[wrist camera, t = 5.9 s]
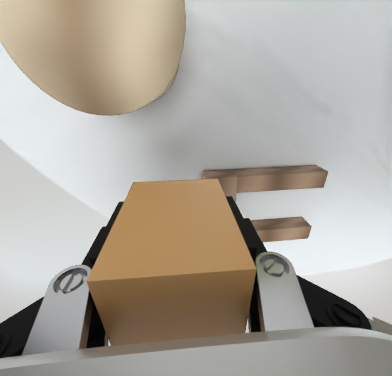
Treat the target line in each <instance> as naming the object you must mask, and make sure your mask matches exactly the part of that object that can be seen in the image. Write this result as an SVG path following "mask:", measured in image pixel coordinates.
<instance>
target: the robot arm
mask: <svg viewBox="0 0 392 376" xmlns="http://www.w3.org/2000/svg"><path fill="white" fill-rule="evenodd" d="M225 197H226V199H227V201H228V204H229V206H230V208H231V211H232V213H233V215H234V218H235V220H236V222H237V225H238V227H239V229H240V232H241V234H242V236H243V238H244V241H245V243H246V245H247V248H248V250H249V252H250V255H251V257H252V259H253V262H254V264H255V266H256V275H255V280H254V286H253V291H252V297H251V303H250V308H249V314H248V325H249V333H242V334H231V335H219V336H209V337H198V338H188V339H177V340H167V341H156V342H146V343H136V344H125V345H116V346H108V336H107V334H106V331H105V328H104V326H103V323H102V321H101V318H100V316H99V313H98V310H97V308H96V305H95V303H94V300H93V298H92V295H91V292H90V290H89V287H88V285H87V282H86V281H87V279H88V277H89V275H90V272H91V270H92V268H93V266H94V264H95V262H96V260H97V258H98V256H99V254H100V251H101V249H102V247H103V245H104V243H105V241H106V239H107V237H108V235H109V233H110V230H111V228H112V226H113V224H114V222H115V220H116V218H117V216H118V214H119V212H120V209H121V207H122V205H123V203H124V202H119V203H118V205H117V207H116V209H115V211H114V212H113V214H112V216H111V218H110V220H109V222H108V224H107V226H106V227H102V229H101V230H100V232H99V234H98V235H97V237H96V239H95V241H94V243H93V244H92V246H91V248H90V250H89V252H88V253H87V256H86V257H85V259H84V261H83V263H82V264H81V265H75V266H71V267H69V268H67V269H65V270H63V271H61V272H60V273H58V274H57V275H56V276H55V277H54V278H53V279H52V281H51V282H50V284H49V286H48V288H47V291H46V294H45V296H44V297H42V298H41V299H39V300H37V301H36V302H34V303H33V304H31V305H29V306H28V307H26V308H25V309H23V310H21V311H20V312H18V313H17V314H15V315H13V316H12V317H10V318H8V319H7V320H5V321H3V322H2V323H0V376H392V325H391V324H388V323H386V322H384V321H382V320H379V319H377V318H374V317H372V318H371V319H368V318H367V317H366V316H365V315H364V314H363V312H362V311H361V310H359V309H358V308H357V307H356V306H355V305H353V304H351V303H350V302H348V301H346V300H344V299H342V298H340V297H338V296H336V295H335V294H333V293H331V292H328V291H327V290H325V289H323V288H321V287H319V286H317V285H315V284H313V283H311V282H309V281H307V280H305V279H303V278H301V277H300V276H298V275H296V273H295V270H294V268H293V265H292V264H291V262H290V261H289V260H288V259H287V258H286V257H284V256H283V255H281V254H278V253H275V252H267V250H266V248H265V247H264V245H263V243H262V241H261V239H260V237H259V235H258V234H257V232H256V230H255V228H254V226H253V224H252V222H251V221H250V219H249V218H243V217H242V215H241V213H240V211H239V209H238V207H237V205H236V203H235V201H234V199H233V197H232V196H225Z"/></svg>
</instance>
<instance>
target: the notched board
mask: <svg viewBox="0 0 392 376" xmlns="http://www.w3.org/2000/svg"><path fill="white" fill-rule="evenodd" d="M327 174H328V171H326V170H324V169H322V168H320V167H318V166H316V165H310V166H291V167H271V168H252V169H233V170H213V171H203V179H218V180H219V183H220V185H221V187H222V190H223V192H224V194H225V196H232V197H233V199H234V201H235V200H236V193H241V192H257V191H273V190H289V189H306V188H322V187H324V184H325V181H326V177H327ZM251 222H252V224H253V226H254V228H255V230H256V232H257V234H258V235H259V237H260V239H261V241H262V242H270V241H282V240H294V239H305V238H308V236H309V233H310V230H311V227H312V226H311V225H309V224H308V223H307V222H306V221H305V220H304V219H303V218H302V217H294V218H280V219H267V220H254V221H251Z"/></svg>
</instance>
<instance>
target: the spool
mask: <svg viewBox="0 0 392 376" xmlns="http://www.w3.org/2000/svg"><path fill="white" fill-rule="evenodd" d="M185 19H186V15H185V3H184V0H0V42H1V44H2V45H3V47H4V48H5V50H6V51H7V53H8V54H9V56H10V57H11V59H12V60H13V61H14V62H15V64H16V65H17V66H18V67H19V68H20V70H21V71H22V72H23V73H24V74H25V75H26V76H27V77H28V78H29V79H30V80H31V81H32V82H33V83H34V84H35V85H37V86H38V87H39V88H40V89H41V90H42V91H44V92H45V93H47V94H48V95H50V96H51V97H52V98H54V99H56V100H57V101H59V102H61V103H63V104H65V105H67V106H69V107H71V108H74V109H76V110H79V111H82V112H86V113H90V114H96V115H121V114H125V113H129V112H132V111H134V110H137V109H139V108H141V107H143V106H145V105H147V104H148V103H150V102H151V101H153V100H156V99H157V98H159V97H161V96H162V95H163V94H164V93H165V92H166V91H167V90H168V89H169V88H170V87H171V85H172V83H173V81H174V80H175V77H176V74H177V70H178V66H179V61H180V57H181V53H182V49H183V44H184V37H185Z"/></svg>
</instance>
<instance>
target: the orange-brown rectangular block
mask: <svg viewBox="0 0 392 376" xmlns="http://www.w3.org/2000/svg"><path fill="white" fill-rule="evenodd" d="M255 275H256V266H255V264H254V262H253V259H252V257H251V255H250V252H249V250H248V248H247V245H246V243H245V241H244V238H243V236H242V234H241V232H240V229H239V227H238V225H237V222H236V220H235V218H234V215H233V213H232V211H231V208H230V206H229V204H228V201H227V199H226V197H225V194H224V192H223V190H222V187H221V185H220V183H219V180H218V179H200V180H177V181H155V182H133V184H132V186H131V189H130V191H129V193H128V195H127V197H126V199H125V201H124V203H123V205H122V207H121V209H120V212H119V214H118V216H117V218H116V220H115V222H114V224H113V226H112V228H111V230H110V233H109V235H108V237H107V239H106V241H105V243H104V245H103V247H102V249H101V251H100V254H99V256H98V258H97V260H96V262H95V264H94V266H93V268H92V270H91V272H90V275H89V277H88V279H87V281H86V282H87V285H88V287H89V290H90V292H91V295H92V298H93V300H94V303H95V305H96V308H97V310H98V313H99V316H100V318H101V321H102V323H103V326H104V328H105V331H106V334H107V336H108V339H109V341H110V344H111V346H116V345H125V344H136V343H146V342H156V341H167V340H177V339H188V338H198V337H209V336H219V335H231V334H242V333H245V330H246V325H247V319H248V314H249V308H250V303H251V297H252V291H253V286H254V280H255Z"/></svg>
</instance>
